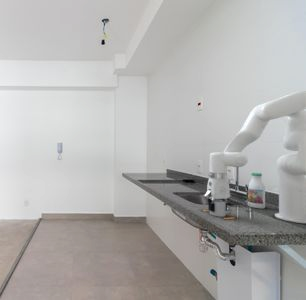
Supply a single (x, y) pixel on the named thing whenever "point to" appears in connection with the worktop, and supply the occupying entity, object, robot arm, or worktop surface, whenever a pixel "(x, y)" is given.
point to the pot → (219, 208)
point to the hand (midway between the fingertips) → (217, 210)
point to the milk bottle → (256, 192)
